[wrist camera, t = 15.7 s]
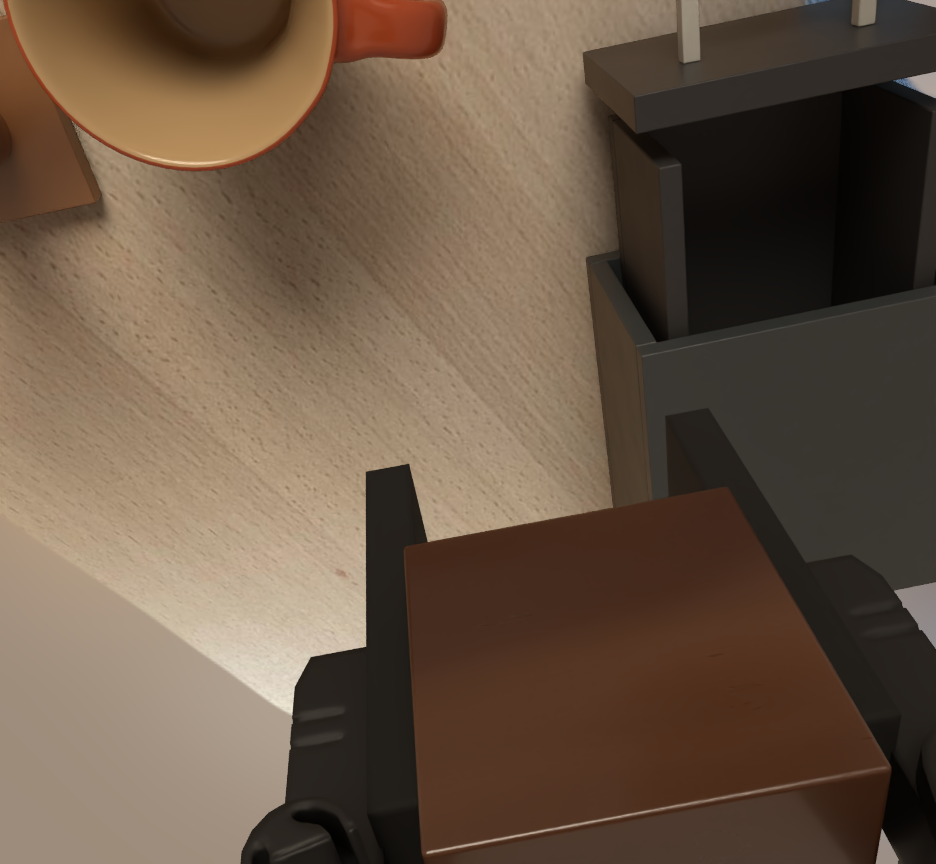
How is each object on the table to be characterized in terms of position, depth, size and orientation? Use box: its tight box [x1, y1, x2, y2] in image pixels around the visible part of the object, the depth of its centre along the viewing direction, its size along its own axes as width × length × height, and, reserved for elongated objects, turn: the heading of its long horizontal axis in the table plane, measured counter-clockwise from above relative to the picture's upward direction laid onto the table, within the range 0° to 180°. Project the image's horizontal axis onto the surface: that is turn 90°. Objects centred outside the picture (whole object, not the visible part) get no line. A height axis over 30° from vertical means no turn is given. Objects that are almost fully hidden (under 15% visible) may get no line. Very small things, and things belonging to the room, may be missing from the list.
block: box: [404, 487, 892, 864], centre depth 11 cm, size 4×4×4 cm
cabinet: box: [586, 250, 936, 591], centre depth 40 cm, size 15×13×10 cm
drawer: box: [583, 0, 936, 342], centre depth 33 cm, size 18×11×8 cm, turn 10°
